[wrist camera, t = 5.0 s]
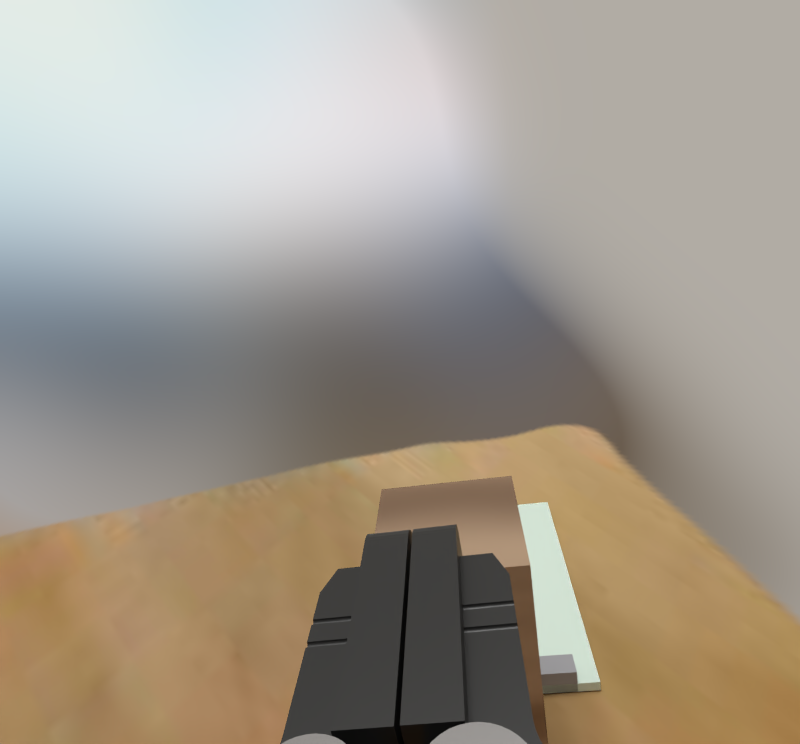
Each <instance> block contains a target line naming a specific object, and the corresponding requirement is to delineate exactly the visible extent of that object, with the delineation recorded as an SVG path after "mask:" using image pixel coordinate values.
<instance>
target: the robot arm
mask: <svg viewBox="0 0 800 744" xmlns="http://www.w3.org/2000/svg"><path fill="white" fill-rule="evenodd" d="M307 643H308V647H307V648H306V649H305V653H304V657H303V660H302V664H301V668H300V672H299V676H298V680H297V683H296V687H295V691H294V695H293V699H292V703H291V707H290V710H289V714H288V718H287V722H286V726H285V730H284V734H283V737H282V740H281V743H280V744H542V742H541V740H540V738H539V736H538V734H537V731H536V729H535V725H534V721H533V715H532V709H531V703H530V697H529V691H528V685H527V679H526V673H525V667H524V661H523V654H522V648H521V642H520V636H519V630H518V624H517V618H516V612H515V606H514V600H513V594H512V587H511V581H510V575H509V573H508V572H507V570H506V569H505V568H504V567H503V565H502V564H501V563H500V562H499V560H498V559H497V558H496V557H495V555H494V554H493V553H485V554H476V555H466V556H462V550H461V544H460V538H459V532H458V527H457V524H455V525H446V526H437V527H428V528H419V529H413V532H412V531H411V530H403V531H394V532H385V533H376V534H368V535H367V536H366V539H365V544H364V549H363V555H362V560H361V566H360V567H353V568H344V569H338V570H337V571H336V573H335V574H334V575H333V577H332V578H331V579H330V580H329V582H328V583H327V584H326V586H325V587H324V588H323V590H322V591H321V592H320V595H319V599H318V603H317V606H316V610H315V614H314V618H313V625H312V626H311V630H310V633H309V637H308V641H307Z"/></svg>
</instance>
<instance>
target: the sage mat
mask: <svg viewBox="0 0 800 744" xmlns="http://www.w3.org/2000/svg"><path fill="white" fill-rule="evenodd" d="M518 510H519V514H520V519H521V524H522V528H523V533H524V538H525V542H526V547H527V552H528V556H529V561H530V567H531V577H532V587H533V597H534V608H535V618H536V628H537V638H538V649H539V659H540V669H541V679H542V690H543V694H547V693H563V692H579V691H595V690H601V686H600V679H599V676H598V672H597V669H596V666H595V662H594V659H593V656H592V652H591V649H590V645H589V642H588V639H587V635H586V632H585V628H584V625H583V622H582V618H581V615H580V611H579V608H578V605H577V601H576V598H575V594H574V591H573V588H572V584H571V581H570V578H569V574H568V571H567V567H566V564H565V561H564V557H563V554H562V550H561V547H560V544H559V540H558V537H557V533H556V530H555V527H554V523H553V520H552V516H551V513H550V510H549V506H548V503H547V502H543V503H533V504H523V505H518Z"/></svg>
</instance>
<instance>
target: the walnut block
mask: <svg viewBox="0 0 800 744" xmlns="http://www.w3.org/2000/svg"><path fill="white" fill-rule="evenodd" d="M455 524H457V527H458V532H459V538H460V544H461V550H462V556H466V555H476V554H485V553H493V554H494V555H495V557H496V558H497V559H498V560H499V562H500V563H501V564H502V565H503V567H504V568H505V569H506V570H507V572H508V573H509V575H510V581H511V587H512V594H513V600H514V606H515V612H516V618H517V624H518V630H519V636H520V642H521V648H522V654H523V661H524V667H525V673H526V679H527V685H528V691H529V697H530V703H531V709H532V715H533V721H534V725H535V729H536V731H537V734H538V736H539V738H540V740H541V742H542V744H548V741H547V730H546V720H545V710H544V700H543V690H542V679H541V669H540V659H539V649H538V638H537V628H536V618H535V608H534V597H533V587H532V577H531V567H530V561H529V556H528V552H527V547H526V542H525V538H524V533H523V528H522V524H521V519H520V514H519V510H518V505H517V500H516V496H515V491H514V486H513V481H512V477H511V476H506V477H497V478H487V479H478V480H468V481H459V482H449V483H439V484H430V485H420V486H411V487H401V488H391V489H382V491H381V497H380V504H379V510H378V517H377V523H376V530H375V534H376V533H385V532H394V531H403V530H411V531H412V532H413V529H419V528H428V527H437V526H446V525H455Z"/></svg>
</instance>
